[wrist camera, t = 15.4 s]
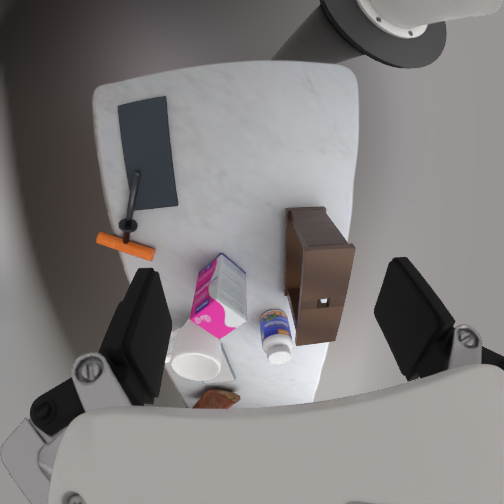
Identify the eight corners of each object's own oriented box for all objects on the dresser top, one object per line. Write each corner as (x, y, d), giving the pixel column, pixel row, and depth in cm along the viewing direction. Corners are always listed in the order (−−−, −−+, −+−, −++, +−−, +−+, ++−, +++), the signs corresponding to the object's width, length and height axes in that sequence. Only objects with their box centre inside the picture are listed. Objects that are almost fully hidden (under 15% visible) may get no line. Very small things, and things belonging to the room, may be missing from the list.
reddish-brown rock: (191, 410, 64) (200, 430, 55) (184, 386, 64) (192, 406, 54) (233, 398, 69) (247, 416, 60) (228, 375, 69) (242, 391, 59)
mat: (119, 106, 30) (117, 106, 29) (166, 96, 30) (165, 96, 30) (135, 209, 38) (133, 210, 38) (178, 204, 38) (177, 206, 38)
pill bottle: (287, 307, 50) (296, 347, 42) (286, 327, 53) (294, 365, 44) (258, 309, 50) (263, 350, 41) (259, 329, 53) (263, 368, 44)
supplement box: (220, 250, 43) (217, 298, 33) (246, 272, 45) (250, 321, 36) (196, 272, 45) (188, 321, 35) (222, 291, 47) (220, 341, 37)
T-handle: (111, 158, 33) (102, 236, 41) (101, 165, 30) (94, 247, 38) (174, 177, 35) (155, 254, 43) (169, 185, 33) (150, 265, 41)
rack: (285, 207, 40) (305, 250, 29) (324, 206, 40) (355, 247, 29) (283, 292, 48) (296, 346, 37) (315, 289, 48) (335, 341, 38)
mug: (218, 302, 48) (216, 352, 39) (224, 333, 53) (224, 380, 43) (156, 306, 48) (143, 353, 38) (167, 335, 52) (158, 380, 43)
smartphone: (220, 343, 53) (236, 381, 60) (220, 339, 54) (236, 378, 61) (182, 347, 53) (203, 384, 61) (182, 344, 54) (203, 381, 62)
